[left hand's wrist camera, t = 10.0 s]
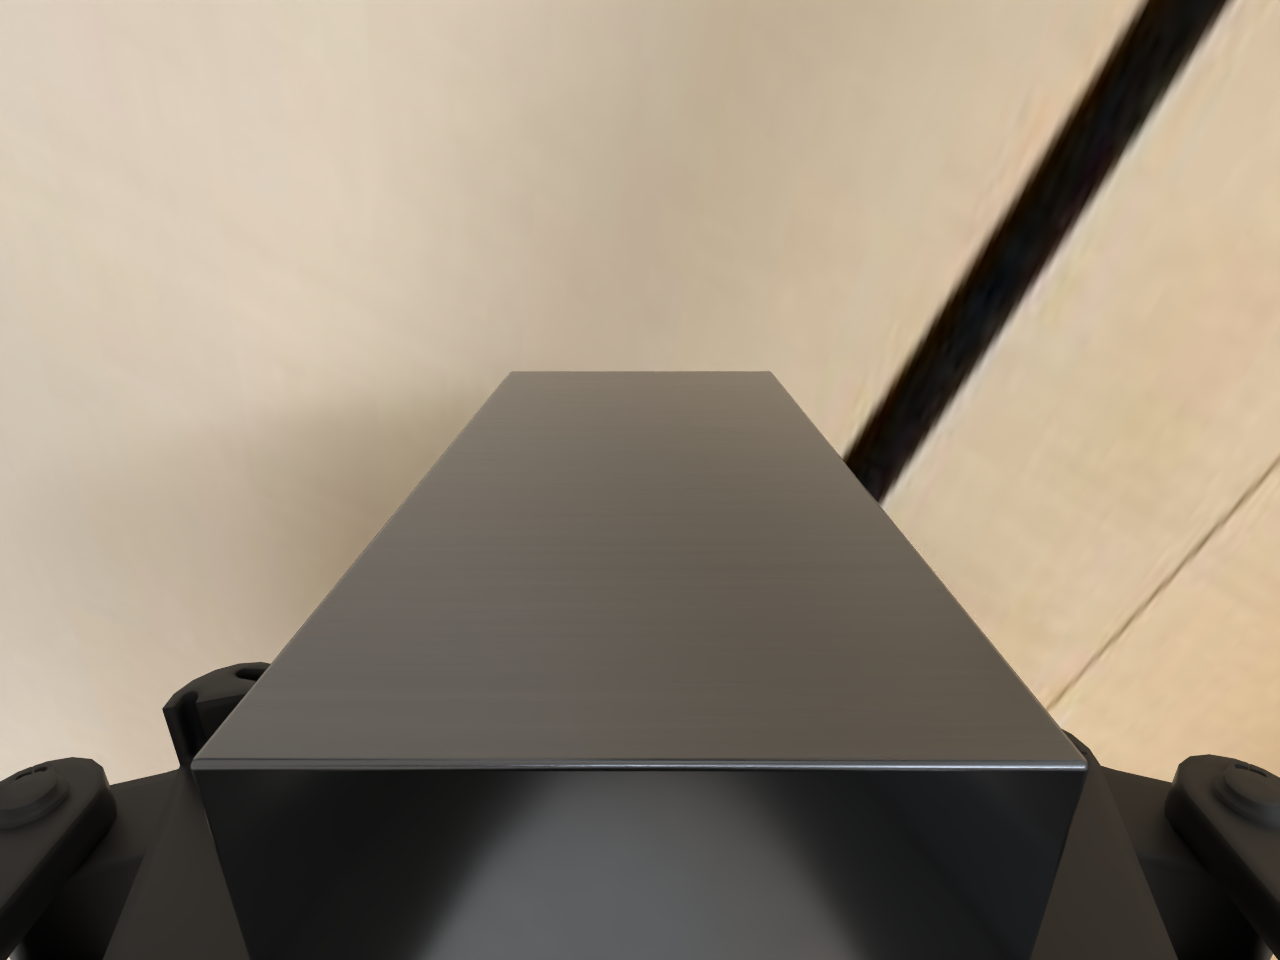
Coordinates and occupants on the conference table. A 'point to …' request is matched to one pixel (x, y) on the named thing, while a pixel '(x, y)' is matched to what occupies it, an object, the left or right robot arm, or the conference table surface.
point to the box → (639, 711)
